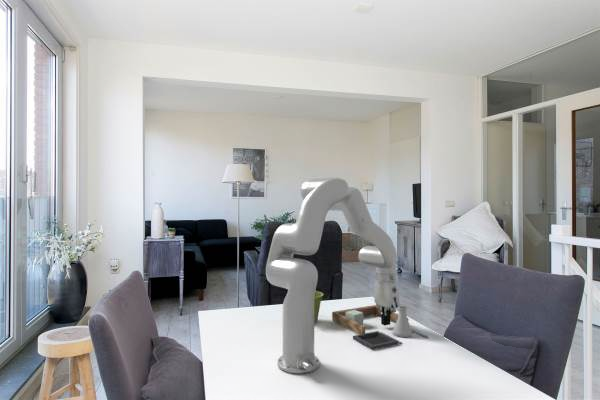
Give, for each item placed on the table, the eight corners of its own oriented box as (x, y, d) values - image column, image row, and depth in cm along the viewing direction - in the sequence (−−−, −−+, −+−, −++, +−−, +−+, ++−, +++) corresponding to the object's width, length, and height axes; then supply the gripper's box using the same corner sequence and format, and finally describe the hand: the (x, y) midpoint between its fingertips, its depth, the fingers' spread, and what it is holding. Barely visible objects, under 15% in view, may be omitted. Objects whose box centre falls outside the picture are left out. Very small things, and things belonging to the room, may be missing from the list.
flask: (406, 339, 133) (406, 311, 133) (388, 334, 138) (388, 307, 138) (416, 334, 138) (416, 307, 138) (398, 329, 143) (398, 303, 143)
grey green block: (363, 325, 148) (363, 312, 148) (354, 328, 145) (354, 315, 145) (354, 322, 152) (354, 309, 152) (345, 324, 149) (345, 312, 149)
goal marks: (428, 337, 135) (428, 336, 135) (399, 344, 129) (399, 342, 129) (406, 328, 144) (406, 327, 144) (379, 333, 138) (379, 332, 138)
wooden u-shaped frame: (408, 327, 145) (408, 318, 145) (362, 336, 135) (362, 327, 135) (375, 313, 164) (375, 305, 164) (332, 320, 154) (332, 311, 154)
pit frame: (398, 344, 128) (398, 340, 128) (372, 350, 123) (372, 346, 123) (377, 334, 138) (377, 330, 138) (352, 339, 133) (352, 335, 133)
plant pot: (324, 326, 147) (324, 297, 147) (293, 326, 147) (293, 297, 147) (322, 316, 158) (322, 290, 158) (294, 316, 159) (294, 290, 159)
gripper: (406, 279, 140) (406, 328, 140) (381, 273, 154) (381, 317, 154) (391, 281, 137) (391, 332, 137) (366, 274, 150) (366, 320, 150)
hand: (385, 324), depth 145 cm, fingers closed
